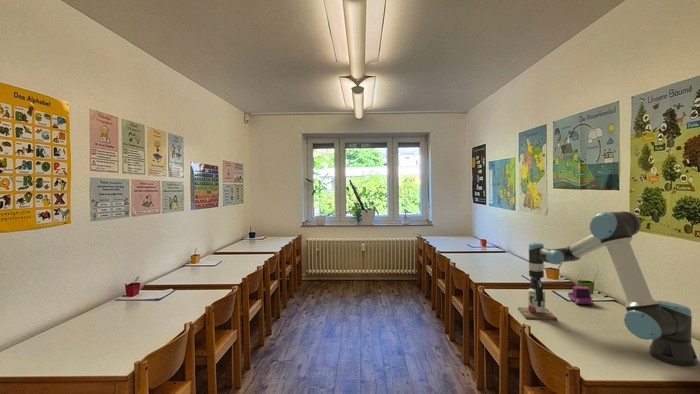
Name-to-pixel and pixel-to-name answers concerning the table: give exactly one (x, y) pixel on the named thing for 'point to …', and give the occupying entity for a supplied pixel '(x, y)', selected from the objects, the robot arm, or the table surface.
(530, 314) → the walnut board
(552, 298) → the table surface
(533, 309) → the ink box
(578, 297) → the toy truck
